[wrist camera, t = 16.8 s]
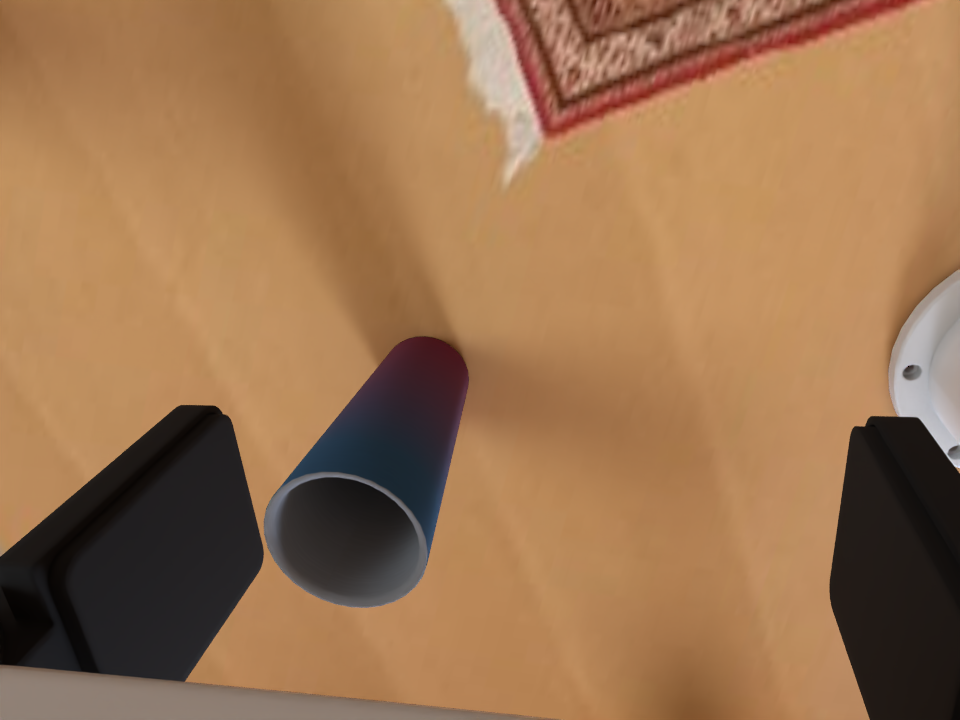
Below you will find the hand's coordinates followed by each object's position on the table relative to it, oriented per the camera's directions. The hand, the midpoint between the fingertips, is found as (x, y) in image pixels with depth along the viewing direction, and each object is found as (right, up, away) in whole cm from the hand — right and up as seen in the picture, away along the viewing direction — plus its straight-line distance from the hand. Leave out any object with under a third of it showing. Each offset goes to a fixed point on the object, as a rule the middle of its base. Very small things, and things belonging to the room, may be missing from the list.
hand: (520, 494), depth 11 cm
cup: (-4, +1, +32) cm, 32 cm away
